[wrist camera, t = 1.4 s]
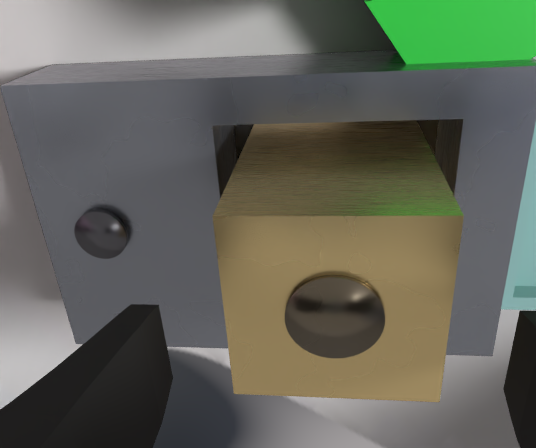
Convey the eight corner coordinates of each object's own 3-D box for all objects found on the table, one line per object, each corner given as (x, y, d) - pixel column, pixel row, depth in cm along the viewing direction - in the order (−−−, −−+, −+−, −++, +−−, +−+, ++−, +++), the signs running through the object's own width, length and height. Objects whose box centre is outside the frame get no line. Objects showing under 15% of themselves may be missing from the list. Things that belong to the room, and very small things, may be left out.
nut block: (403, 252, 18) (440, 407, 12) (265, 251, 19) (233, 398, 13) (413, 115, 16) (465, 219, 10) (256, 119, 17) (211, 219, 10)
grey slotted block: (470, 300, 19) (494, 362, 16) (108, 294, 21) (72, 349, 18) (508, 45, 15) (550, 67, 12) (52, 64, 17) (-7, 88, 14)
